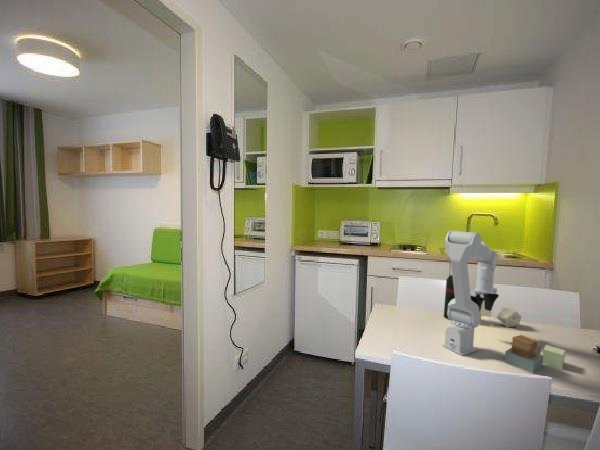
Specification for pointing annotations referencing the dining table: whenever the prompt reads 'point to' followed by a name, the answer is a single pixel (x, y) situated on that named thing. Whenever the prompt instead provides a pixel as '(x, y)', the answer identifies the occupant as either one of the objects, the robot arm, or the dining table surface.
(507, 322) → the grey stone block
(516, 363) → the slate plinth
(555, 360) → the sage cube
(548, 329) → the dining table surface
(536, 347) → the walnut cube
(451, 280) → the wine bottle
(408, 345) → the dining table surface
